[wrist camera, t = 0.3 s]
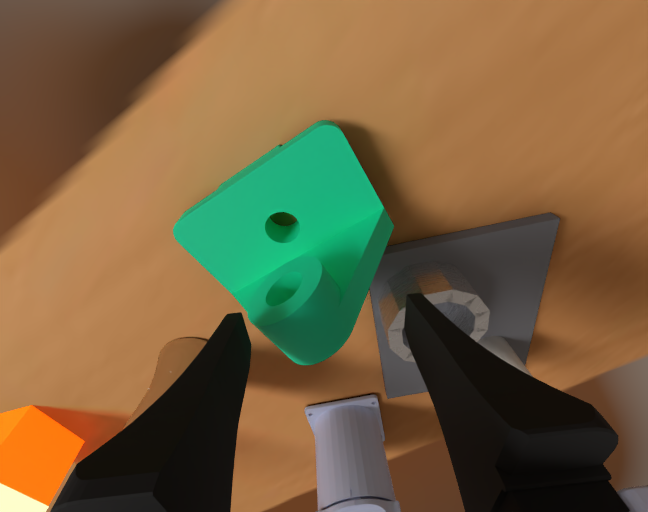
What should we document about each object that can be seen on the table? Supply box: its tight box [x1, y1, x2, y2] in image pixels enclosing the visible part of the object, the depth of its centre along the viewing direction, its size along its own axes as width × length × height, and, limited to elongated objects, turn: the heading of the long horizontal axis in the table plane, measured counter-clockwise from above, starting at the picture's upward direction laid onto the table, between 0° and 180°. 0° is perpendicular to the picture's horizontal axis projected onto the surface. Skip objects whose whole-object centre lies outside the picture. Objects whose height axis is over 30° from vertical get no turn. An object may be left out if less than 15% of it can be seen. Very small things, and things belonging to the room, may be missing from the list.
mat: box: [369, 212, 560, 399], centre depth 28 cm, size 18×14×1 cm
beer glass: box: [120, 338, 208, 432], centre depth 22 cm, size 7×7×15 cm
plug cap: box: [477, 336, 533, 377], centre depth 27 cm, size 4×4×6 cm
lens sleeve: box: [377, 260, 490, 363], centre depth 24 cm, size 7×7×4 cm
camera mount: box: [173, 120, 394, 365], centre depth 17 cm, size 12×8×10 cm, turn 122°
